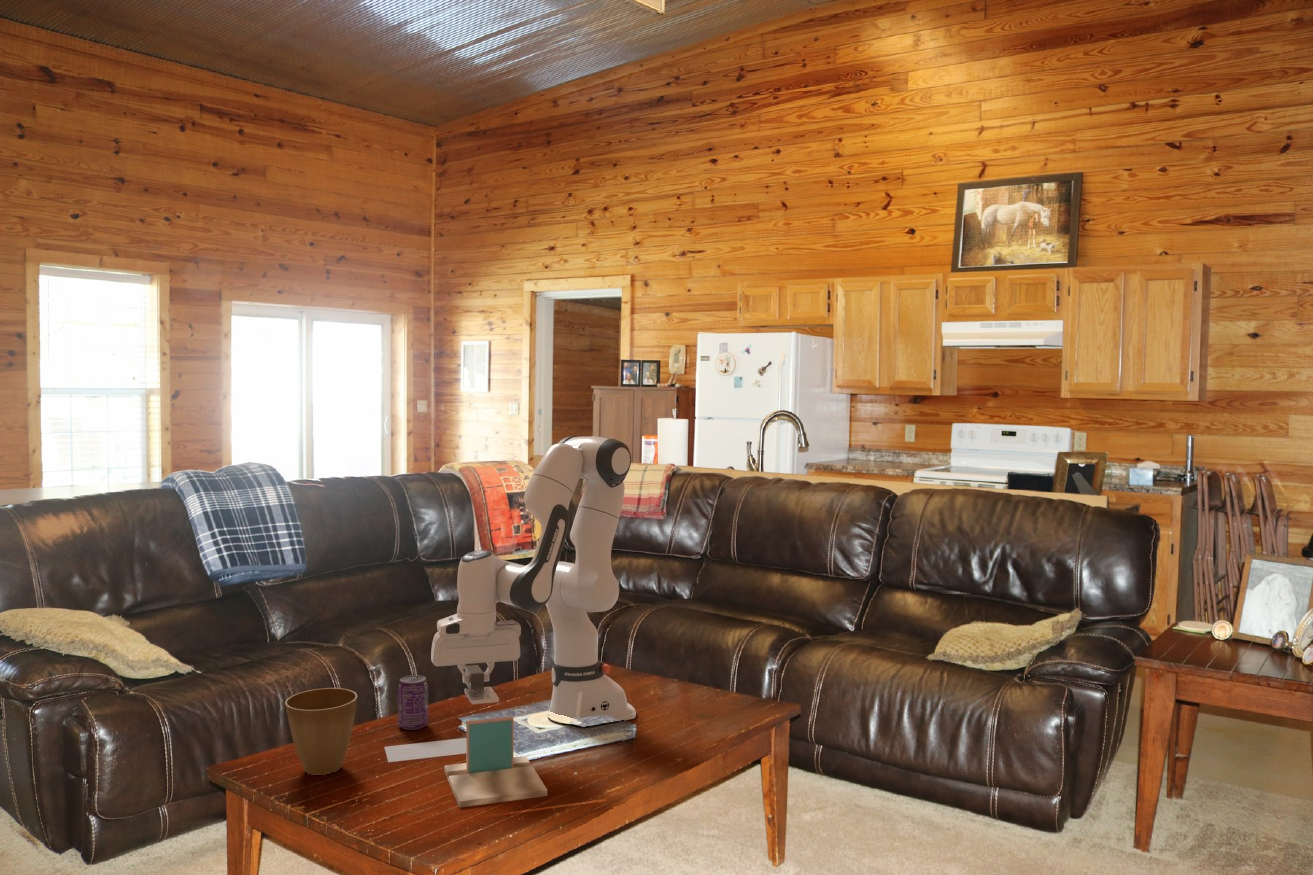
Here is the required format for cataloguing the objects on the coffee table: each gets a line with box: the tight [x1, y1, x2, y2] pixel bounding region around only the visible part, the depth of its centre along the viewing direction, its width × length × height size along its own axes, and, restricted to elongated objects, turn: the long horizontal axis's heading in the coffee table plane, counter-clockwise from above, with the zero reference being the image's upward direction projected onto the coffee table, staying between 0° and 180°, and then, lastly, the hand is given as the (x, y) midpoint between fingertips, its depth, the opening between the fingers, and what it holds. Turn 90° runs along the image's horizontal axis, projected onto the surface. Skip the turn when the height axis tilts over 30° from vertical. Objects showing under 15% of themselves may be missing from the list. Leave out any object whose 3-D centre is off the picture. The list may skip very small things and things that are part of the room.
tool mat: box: [384, 737, 466, 765], centre depth 234 cm, size 22×10×1 cm, turn 110°
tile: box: [465, 716, 515, 774], centre depth 219 cm, size 10×1×12 cm, turn 110°
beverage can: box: [397, 674, 429, 731], centre depth 249 cm, size 7×7×12 cm
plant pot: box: [284, 687, 358, 775], centre depth 221 cm, size 15×15×16 cm
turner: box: [463, 664, 500, 705], centre depth 231 cm, size 18×6×4 cm, turn 20°
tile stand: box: [444, 755, 548, 808], centre depth 214 cm, size 18×20×2 cm
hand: (475, 681), depth 234 cm, fingers closed on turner, 3 cm apart
